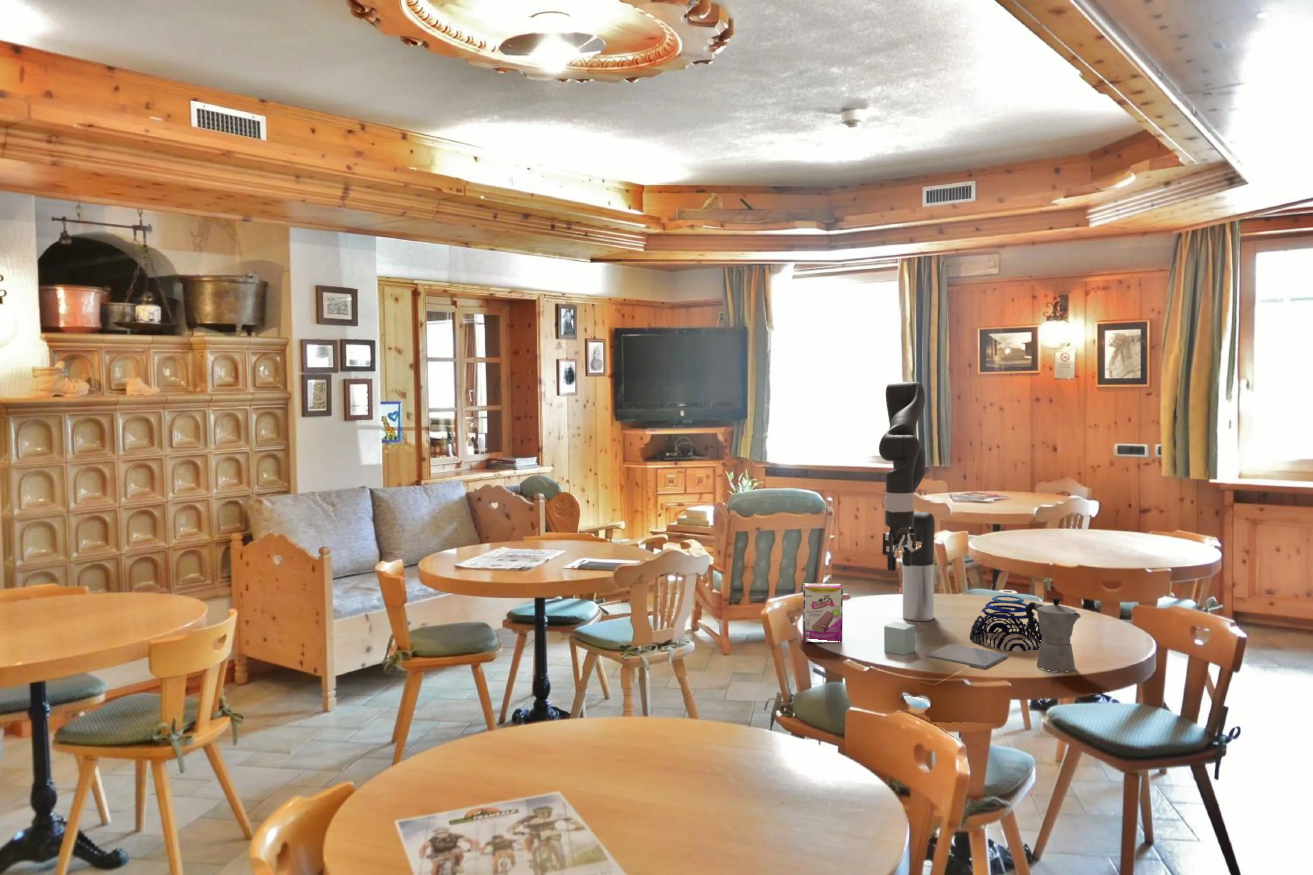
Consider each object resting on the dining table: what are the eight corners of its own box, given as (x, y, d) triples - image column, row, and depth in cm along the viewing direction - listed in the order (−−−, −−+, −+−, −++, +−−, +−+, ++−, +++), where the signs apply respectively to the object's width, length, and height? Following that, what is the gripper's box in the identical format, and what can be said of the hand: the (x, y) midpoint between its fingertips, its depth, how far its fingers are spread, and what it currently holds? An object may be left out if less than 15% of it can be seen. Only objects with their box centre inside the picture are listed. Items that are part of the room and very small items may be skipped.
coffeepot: (1090, 670, 239) (1091, 599, 238) (1068, 677, 233) (1069, 605, 232) (1036, 656, 251) (1036, 589, 250) (1014, 662, 246) (1014, 594, 245)
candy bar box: (803, 643, 267) (802, 586, 266) (802, 639, 272) (801, 582, 271) (843, 644, 266) (843, 586, 265) (841, 639, 271) (841, 583, 270)
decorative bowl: (1034, 633, 275) (1034, 584, 275) (1056, 652, 256) (1056, 599, 255) (963, 632, 277) (963, 583, 277) (980, 651, 258) (980, 599, 257)
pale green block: (895, 646, 261) (895, 621, 261) (915, 650, 257) (915, 625, 257) (884, 651, 257) (884, 625, 257) (904, 655, 253) (904, 629, 253)
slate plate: (950, 646, 262) (950, 643, 262) (1007, 656, 251) (1007, 653, 251) (927, 657, 252) (927, 654, 252) (985, 668, 241) (985, 665, 241)
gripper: (899, 505, 263) (899, 562, 264) (873, 510, 252) (873, 570, 253) (924, 507, 258) (924, 565, 259) (899, 512, 247) (899, 573, 248)
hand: (899, 568), depth 256 cm, fingers open, 8 cm apart
